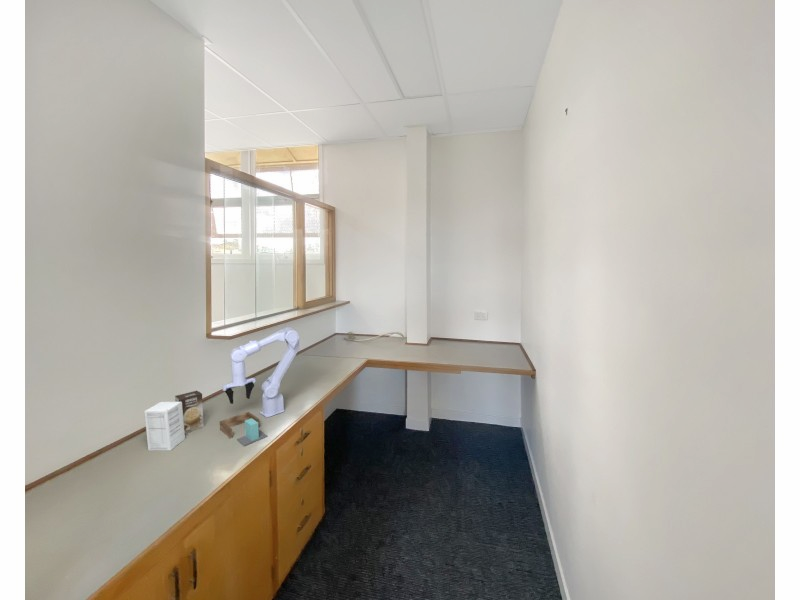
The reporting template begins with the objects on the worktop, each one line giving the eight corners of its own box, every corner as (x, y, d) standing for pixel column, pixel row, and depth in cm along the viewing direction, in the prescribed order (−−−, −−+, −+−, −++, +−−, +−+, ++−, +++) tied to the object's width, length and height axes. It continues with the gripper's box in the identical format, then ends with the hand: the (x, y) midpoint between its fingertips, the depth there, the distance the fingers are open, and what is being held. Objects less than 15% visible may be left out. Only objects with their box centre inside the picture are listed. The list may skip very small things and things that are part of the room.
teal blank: (252, 433, 144) (251, 418, 143) (258, 438, 140) (258, 422, 139) (245, 436, 142) (244, 420, 141) (251, 441, 138) (251, 425, 137)
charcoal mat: (259, 431, 147) (259, 430, 147) (267, 436, 142) (267, 435, 142) (237, 440, 140) (236, 439, 139) (244, 446, 135) (244, 445, 135)
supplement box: (185, 438, 140) (183, 401, 138) (170, 451, 131) (167, 411, 129) (163, 438, 140) (160, 400, 138) (147, 450, 131) (143, 410, 129)
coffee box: (181, 435, 143) (179, 399, 141) (176, 430, 147) (173, 396, 145) (204, 427, 150) (202, 393, 149) (199, 422, 154) (196, 389, 153)
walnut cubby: (248, 419, 158) (248, 411, 157) (259, 427, 150) (259, 419, 150) (220, 429, 148) (219, 421, 147) (229, 438, 141) (229, 429, 140)
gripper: (225, 379, 147) (227, 408, 149) (257, 371, 158) (258, 398, 159) (219, 375, 152) (221, 403, 153) (251, 368, 163) (252, 394, 164)
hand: (240, 400), depth 157 cm, fingers open, 7 cm apart
